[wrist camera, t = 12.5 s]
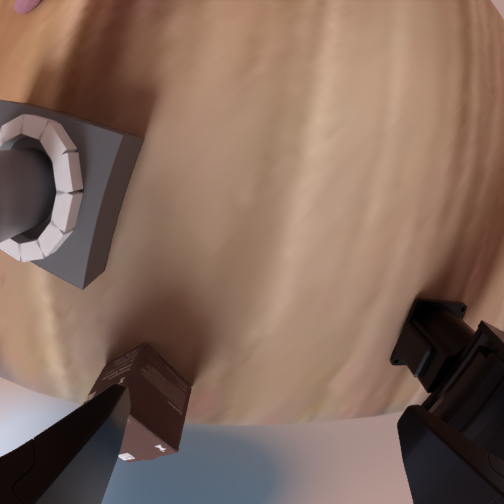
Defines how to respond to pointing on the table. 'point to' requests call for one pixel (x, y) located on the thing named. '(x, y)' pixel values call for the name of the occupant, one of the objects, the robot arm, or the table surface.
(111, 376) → the box
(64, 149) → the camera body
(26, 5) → the video game controller
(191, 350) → the table surface
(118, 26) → the table surface
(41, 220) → the grey travel tumbler
